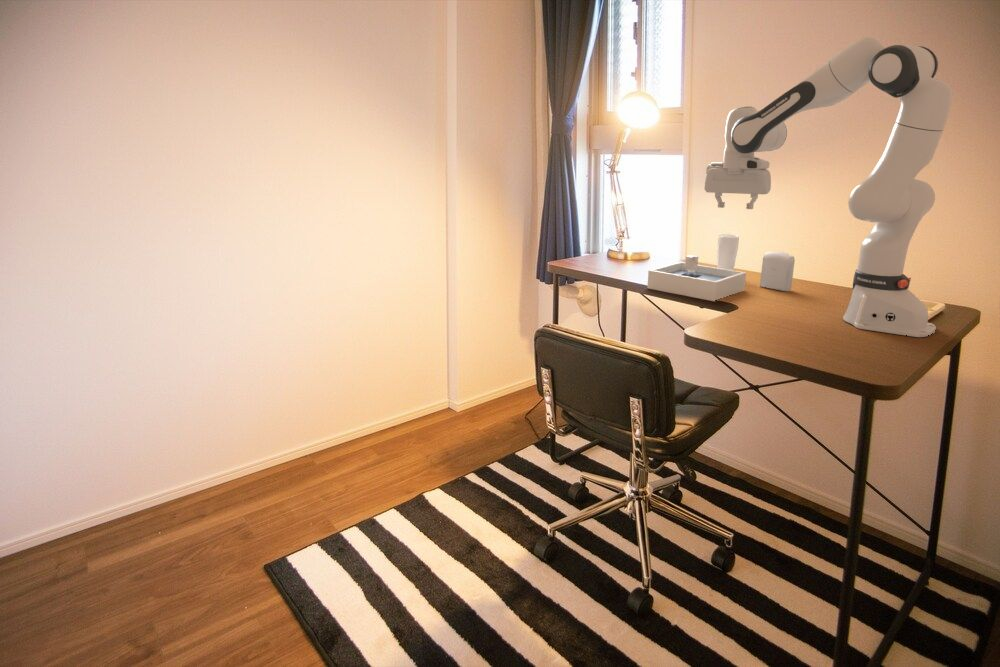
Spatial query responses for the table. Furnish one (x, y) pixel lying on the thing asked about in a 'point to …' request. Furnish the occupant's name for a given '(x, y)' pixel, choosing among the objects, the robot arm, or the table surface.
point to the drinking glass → (727, 251)
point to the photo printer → (777, 270)
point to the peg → (691, 266)
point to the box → (697, 281)
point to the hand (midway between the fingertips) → (735, 208)
